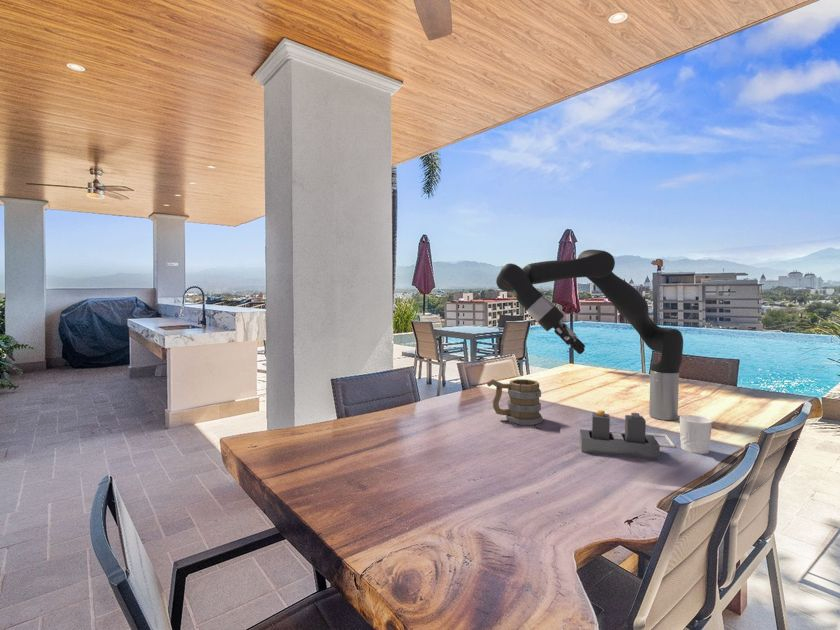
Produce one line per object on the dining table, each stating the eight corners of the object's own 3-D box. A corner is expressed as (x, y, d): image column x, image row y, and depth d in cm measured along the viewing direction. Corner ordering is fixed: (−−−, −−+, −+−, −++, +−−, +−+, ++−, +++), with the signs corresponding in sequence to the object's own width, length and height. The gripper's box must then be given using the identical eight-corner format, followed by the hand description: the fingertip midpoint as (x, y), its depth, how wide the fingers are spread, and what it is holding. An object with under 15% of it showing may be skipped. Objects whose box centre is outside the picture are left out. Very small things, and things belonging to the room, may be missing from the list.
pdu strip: (579, 445, 130) (579, 428, 129) (652, 452, 124) (653, 434, 123) (581, 455, 122) (581, 437, 122) (659, 463, 116) (659, 444, 116)
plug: (591, 445, 127) (592, 408, 126) (608, 447, 125) (609, 410, 125) (592, 450, 123) (592, 412, 122) (609, 452, 121) (609, 414, 120)
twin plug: (624, 448, 124) (625, 410, 123) (641, 450, 123) (642, 412, 122) (627, 454, 120) (628, 415, 119) (644, 455, 119) (645, 416, 118)
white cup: (695, 459, 119) (697, 424, 118) (672, 449, 126) (673, 416, 126) (717, 456, 121) (718, 421, 120) (693, 446, 128) (694, 413, 128)
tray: (631, 436, 137) (631, 431, 137) (666, 439, 134) (666, 434, 134) (637, 447, 127) (637, 442, 127) (674, 451, 125) (675, 445, 124)
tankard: (538, 414, 161) (538, 375, 160) (544, 425, 149) (545, 383, 148) (485, 413, 163) (485, 375, 162) (487, 424, 151) (487, 382, 150)
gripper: (552, 306, 128) (592, 345, 124) (555, 304, 141) (592, 339, 138) (533, 323, 130) (572, 362, 127) (539, 319, 144) (574, 355, 140)
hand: (582, 350), depth 132 cm, fingers open, 8 cm apart
